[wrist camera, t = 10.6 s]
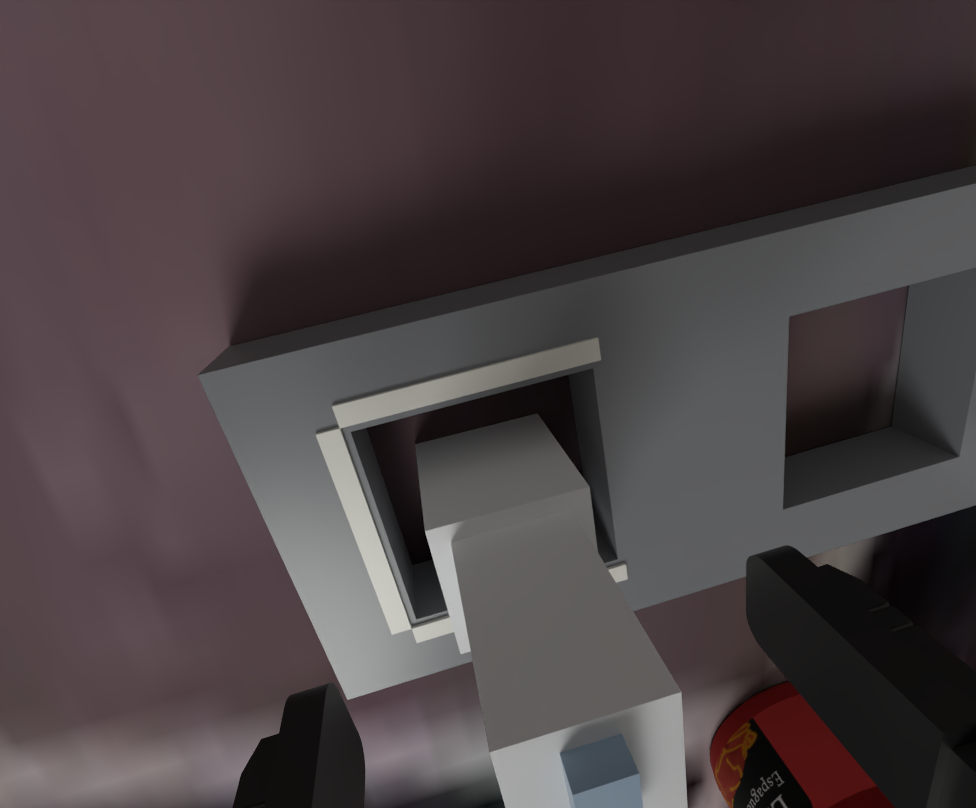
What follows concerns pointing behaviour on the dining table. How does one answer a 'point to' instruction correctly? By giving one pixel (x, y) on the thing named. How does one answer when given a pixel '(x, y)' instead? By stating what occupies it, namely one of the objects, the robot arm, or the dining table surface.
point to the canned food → (787, 758)
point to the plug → (547, 626)
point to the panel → (621, 411)
